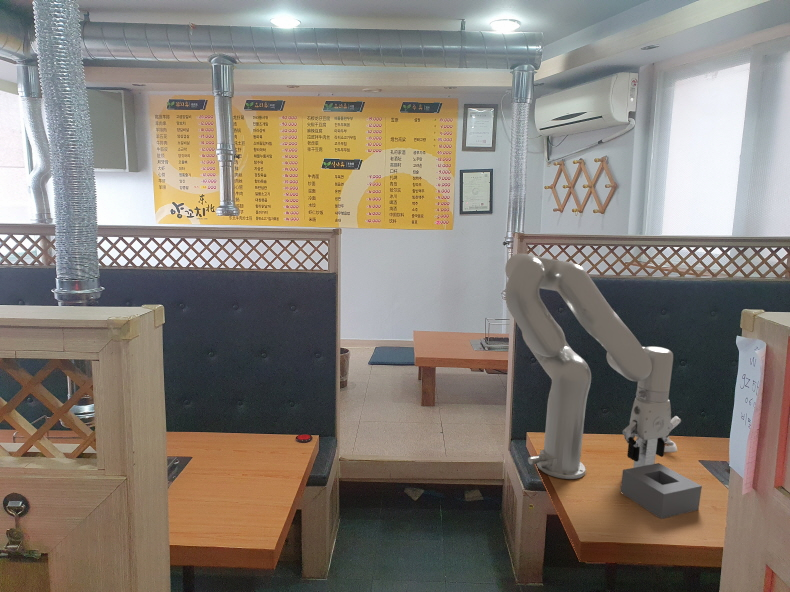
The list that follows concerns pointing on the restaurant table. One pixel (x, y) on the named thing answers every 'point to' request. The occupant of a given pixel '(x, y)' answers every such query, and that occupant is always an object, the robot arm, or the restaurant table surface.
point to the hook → (673, 448)
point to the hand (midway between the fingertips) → (645, 456)
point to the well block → (661, 490)
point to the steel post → (646, 452)
